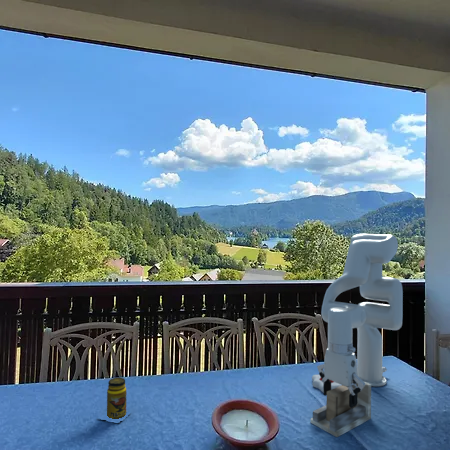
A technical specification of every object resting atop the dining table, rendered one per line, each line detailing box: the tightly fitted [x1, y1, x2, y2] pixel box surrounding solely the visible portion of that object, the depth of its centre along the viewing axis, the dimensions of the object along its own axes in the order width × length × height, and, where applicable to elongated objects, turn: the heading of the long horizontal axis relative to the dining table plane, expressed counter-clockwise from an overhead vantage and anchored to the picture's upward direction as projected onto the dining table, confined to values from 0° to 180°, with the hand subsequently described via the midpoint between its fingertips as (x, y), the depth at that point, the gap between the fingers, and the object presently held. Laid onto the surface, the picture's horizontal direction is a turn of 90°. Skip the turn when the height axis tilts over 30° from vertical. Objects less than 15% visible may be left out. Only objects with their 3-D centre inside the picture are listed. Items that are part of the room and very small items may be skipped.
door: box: [326, 384, 351, 422], centre depth 117 cm, size 9×3×9 cm, turn 128°
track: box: [309, 382, 372, 438], centre depth 118 cm, size 18×10×11 cm, turn 127°
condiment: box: [106, 376, 127, 419], centre depth 119 cm, size 7×8×12 cm
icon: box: [311, 374, 341, 394], centre depth 143 cm, size 12×4×10 cm
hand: (339, 399), depth 118 cm, fingers open, 9 cm apart
